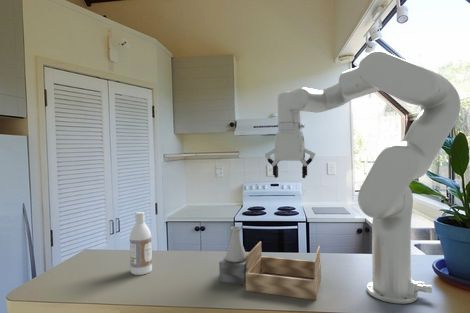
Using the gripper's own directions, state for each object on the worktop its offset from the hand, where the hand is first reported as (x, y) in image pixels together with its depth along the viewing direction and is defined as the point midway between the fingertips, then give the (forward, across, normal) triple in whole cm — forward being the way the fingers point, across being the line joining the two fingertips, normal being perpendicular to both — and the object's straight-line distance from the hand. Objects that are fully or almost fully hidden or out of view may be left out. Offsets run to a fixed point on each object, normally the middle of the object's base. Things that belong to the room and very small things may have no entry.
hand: (290, 177), depth 112 cm
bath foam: (+31, +47, +21) cm, 60 cm away
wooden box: (+30, -1, +17) cm, 35 cm away
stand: (+30, +14, +17) cm, 38 cm away
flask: (+24, +14, +17) cm, 33 cm away
